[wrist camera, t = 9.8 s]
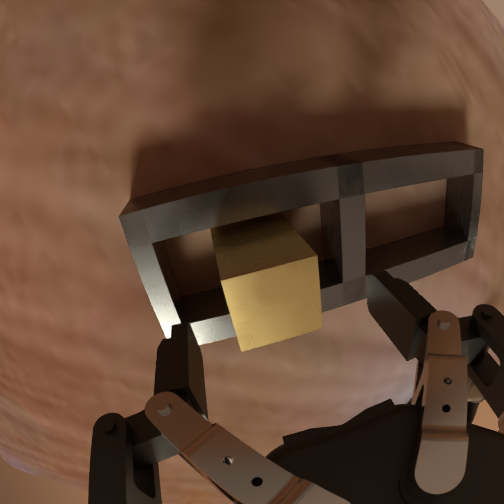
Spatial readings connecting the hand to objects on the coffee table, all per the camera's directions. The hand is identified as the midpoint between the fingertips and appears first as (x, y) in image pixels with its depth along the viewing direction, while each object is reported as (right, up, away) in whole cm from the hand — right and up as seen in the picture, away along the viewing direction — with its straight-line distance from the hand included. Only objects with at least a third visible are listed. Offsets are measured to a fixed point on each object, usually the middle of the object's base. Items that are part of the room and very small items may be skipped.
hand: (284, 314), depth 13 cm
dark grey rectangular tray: (+4, +5, +7) cm, 9 cm away
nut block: (-2, +3, +6) cm, 7 cm away
